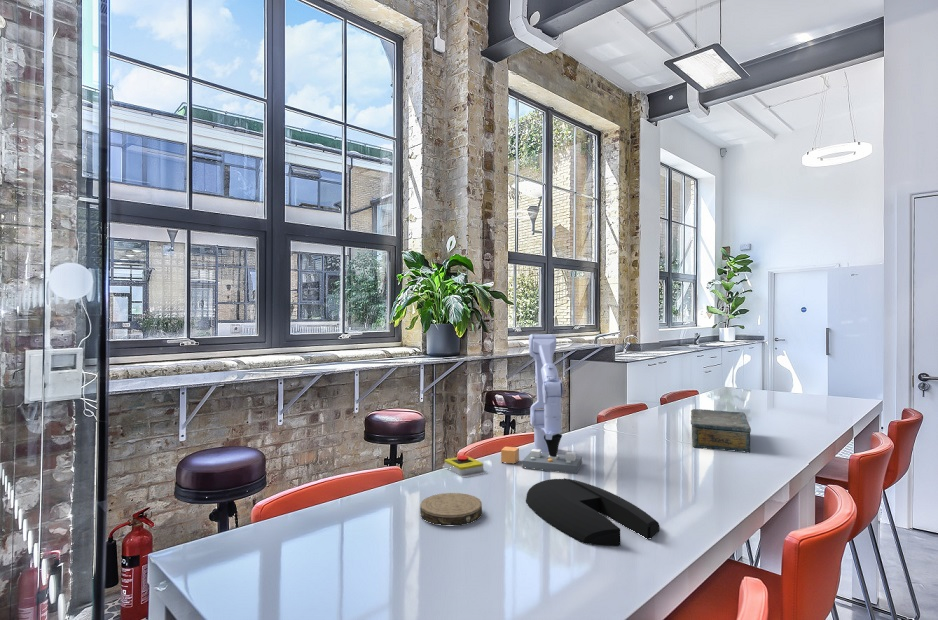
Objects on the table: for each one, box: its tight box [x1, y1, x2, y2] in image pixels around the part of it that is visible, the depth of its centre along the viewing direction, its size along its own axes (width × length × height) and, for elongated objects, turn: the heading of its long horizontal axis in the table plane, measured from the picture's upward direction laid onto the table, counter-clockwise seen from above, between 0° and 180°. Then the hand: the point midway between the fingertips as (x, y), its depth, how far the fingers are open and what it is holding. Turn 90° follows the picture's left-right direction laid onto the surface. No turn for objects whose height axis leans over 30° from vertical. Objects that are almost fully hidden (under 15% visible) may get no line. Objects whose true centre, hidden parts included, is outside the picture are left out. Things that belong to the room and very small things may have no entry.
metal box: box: [690, 408, 752, 453], centre depth 210 cm, size 21×32×10 cm, turn 156°
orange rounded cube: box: [500, 446, 520, 464], centre depth 182 cm, size 5×5×4 cm
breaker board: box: [521, 448, 583, 474], centre depth 177 cm, size 12×18×4 cm, turn 69°
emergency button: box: [442, 455, 488, 479], centre depth 173 cm, size 9×4×15 cm
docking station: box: [525, 478, 660, 547], centre depth 135 cm, size 25×40×5 cm, turn 21°
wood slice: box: [419, 492, 483, 526], centre depth 135 cm, size 16×16×3 cm
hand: (553, 456), depth 177 cm, fingers closed, pressing on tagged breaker
